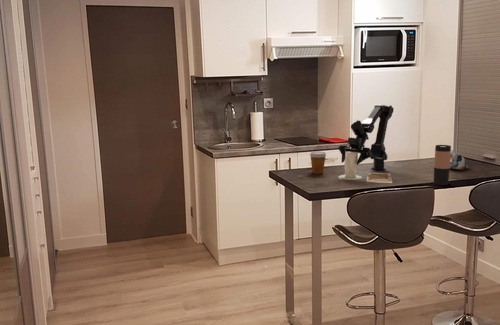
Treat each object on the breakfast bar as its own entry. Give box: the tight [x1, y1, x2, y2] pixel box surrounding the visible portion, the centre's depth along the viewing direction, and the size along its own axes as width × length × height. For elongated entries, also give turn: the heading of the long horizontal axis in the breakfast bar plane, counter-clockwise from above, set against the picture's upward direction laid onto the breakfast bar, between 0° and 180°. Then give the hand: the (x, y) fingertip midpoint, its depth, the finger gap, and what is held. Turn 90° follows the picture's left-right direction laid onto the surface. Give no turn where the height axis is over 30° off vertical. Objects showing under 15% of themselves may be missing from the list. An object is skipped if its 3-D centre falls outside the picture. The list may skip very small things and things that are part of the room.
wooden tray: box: [366, 172, 393, 184], centre depth 254 cm, size 13×13×4 cm
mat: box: [337, 174, 363, 181], centre depth 262 cm, size 13×13×1 cm
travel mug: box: [433, 144, 452, 186], centre depth 246 cm, size 8×8×20 cm
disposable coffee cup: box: [309, 151, 327, 175], centre depth 278 cm, size 10×10×12 cm
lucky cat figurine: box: [450, 149, 469, 171], centre depth 285 cm, size 15×12×14 cm
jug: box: [344, 151, 358, 178], centre depth 260 cm, size 8×6×14 cm
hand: (349, 163), depth 259 cm, fingers open, 9 cm apart
